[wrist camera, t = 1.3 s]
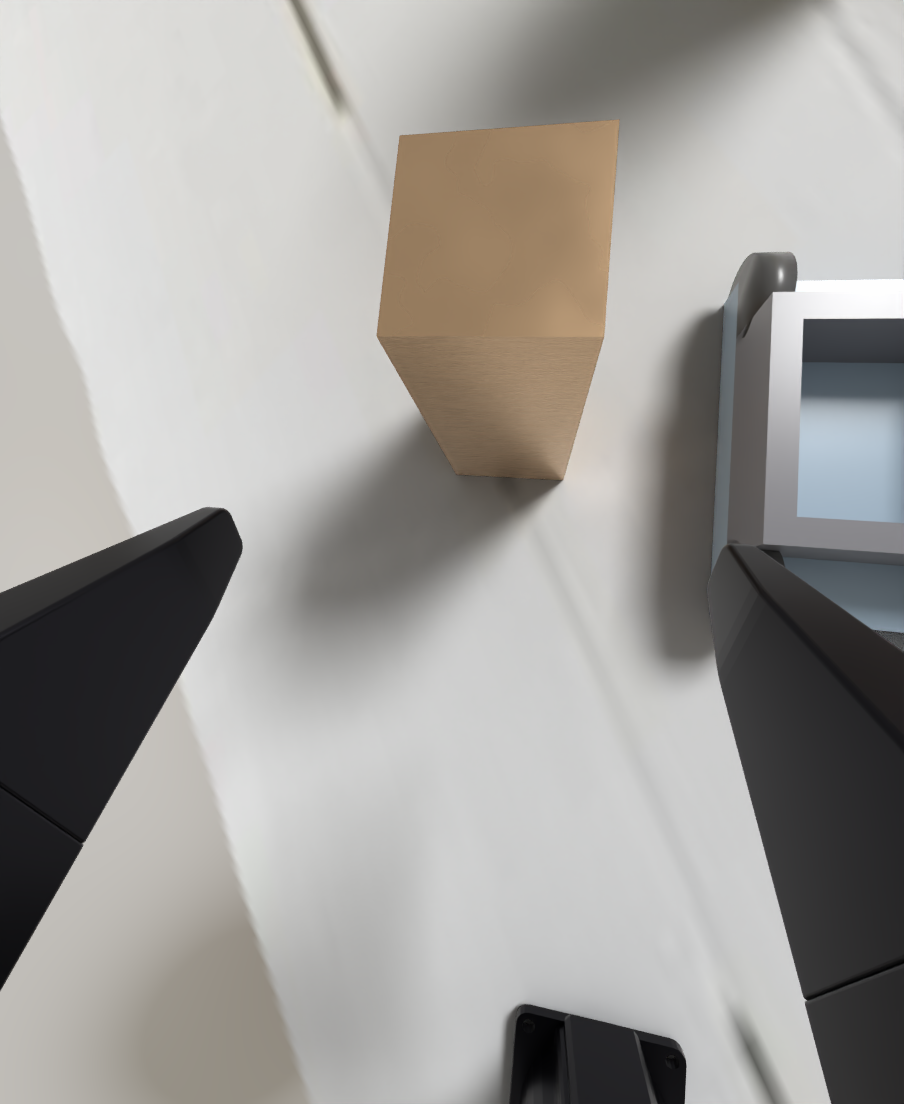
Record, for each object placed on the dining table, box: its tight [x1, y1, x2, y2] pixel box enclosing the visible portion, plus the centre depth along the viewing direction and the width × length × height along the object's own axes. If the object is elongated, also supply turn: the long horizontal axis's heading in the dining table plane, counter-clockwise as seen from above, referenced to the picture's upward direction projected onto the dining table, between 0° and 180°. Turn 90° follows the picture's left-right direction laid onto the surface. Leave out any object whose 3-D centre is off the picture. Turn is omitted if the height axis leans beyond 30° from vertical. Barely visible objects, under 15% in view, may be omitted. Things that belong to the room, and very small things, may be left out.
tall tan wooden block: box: [377, 120, 619, 480], centre depth 16 cm, size 5×5×12 cm
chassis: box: [709, 252, 904, 633], centre depth 18 cm, size 15×9×4 cm, turn 175°
